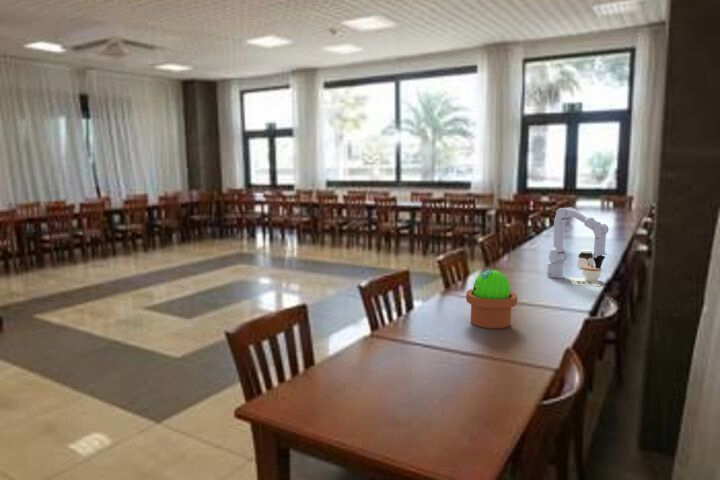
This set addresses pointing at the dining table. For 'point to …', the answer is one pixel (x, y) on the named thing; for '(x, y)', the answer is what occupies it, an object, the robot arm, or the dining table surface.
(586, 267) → the lidded jar
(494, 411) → the dining table surface
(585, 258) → the spread jar
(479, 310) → the potted cactus
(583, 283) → the placemat
